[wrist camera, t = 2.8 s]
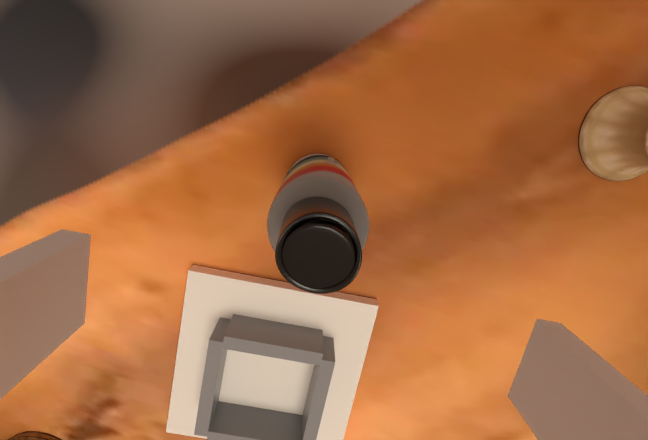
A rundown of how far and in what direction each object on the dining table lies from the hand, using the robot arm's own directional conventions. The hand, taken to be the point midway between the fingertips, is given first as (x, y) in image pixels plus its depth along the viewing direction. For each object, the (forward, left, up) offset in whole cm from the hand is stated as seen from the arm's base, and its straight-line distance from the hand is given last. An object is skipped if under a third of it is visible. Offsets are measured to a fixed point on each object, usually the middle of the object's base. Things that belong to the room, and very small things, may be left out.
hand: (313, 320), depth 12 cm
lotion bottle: (0, 0, -26) cm, 26 cm away
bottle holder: (+1, +19, -26) cm, 32 cm away
